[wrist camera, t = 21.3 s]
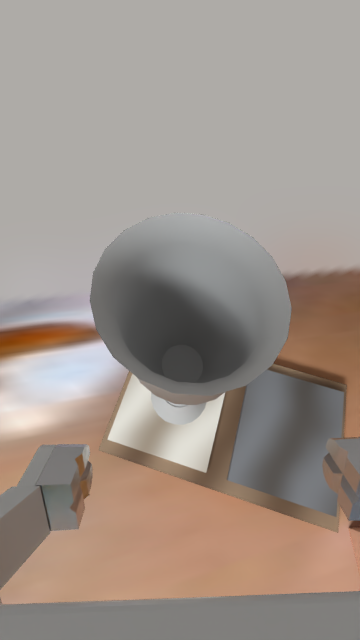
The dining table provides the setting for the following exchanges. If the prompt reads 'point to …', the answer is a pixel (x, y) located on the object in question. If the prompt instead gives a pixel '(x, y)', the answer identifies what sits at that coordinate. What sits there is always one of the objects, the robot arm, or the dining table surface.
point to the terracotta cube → (356, 544)
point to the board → (243, 441)
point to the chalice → (190, 309)
